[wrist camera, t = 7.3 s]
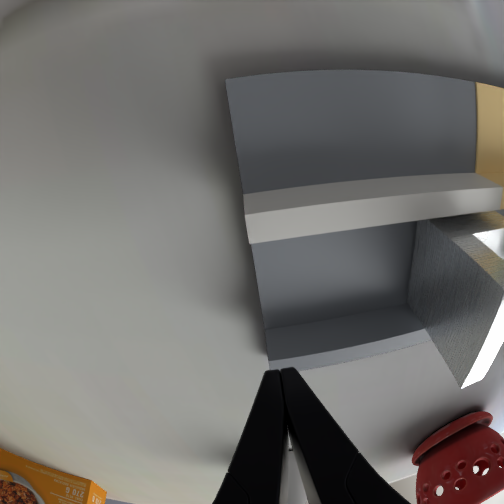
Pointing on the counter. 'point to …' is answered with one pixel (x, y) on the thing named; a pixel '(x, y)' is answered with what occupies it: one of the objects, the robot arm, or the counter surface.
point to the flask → (295, 482)
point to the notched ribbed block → (461, 289)
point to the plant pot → (460, 462)
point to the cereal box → (43, 484)
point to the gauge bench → (355, 197)
